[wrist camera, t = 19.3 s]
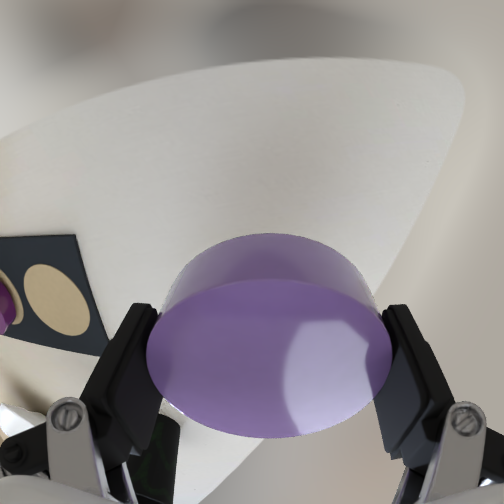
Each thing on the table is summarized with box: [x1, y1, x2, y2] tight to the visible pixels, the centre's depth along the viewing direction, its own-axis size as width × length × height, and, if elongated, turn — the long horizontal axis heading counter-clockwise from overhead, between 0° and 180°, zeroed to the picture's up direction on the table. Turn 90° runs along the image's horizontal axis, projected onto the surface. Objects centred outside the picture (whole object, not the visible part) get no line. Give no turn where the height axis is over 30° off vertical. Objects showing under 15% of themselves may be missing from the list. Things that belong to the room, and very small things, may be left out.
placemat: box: [0, 235, 109, 357], centre depth 26 cm, size 14×20×1 cm
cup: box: [126, 414, 180, 504], centre depth 29 cm, size 8×8×12 cm
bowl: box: [0, 403, 46, 437], centre depth 39 cm, size 22×23×6 cm
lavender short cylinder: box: [146, 233, 393, 438], centre depth 10 cm, size 7×7×3 cm
